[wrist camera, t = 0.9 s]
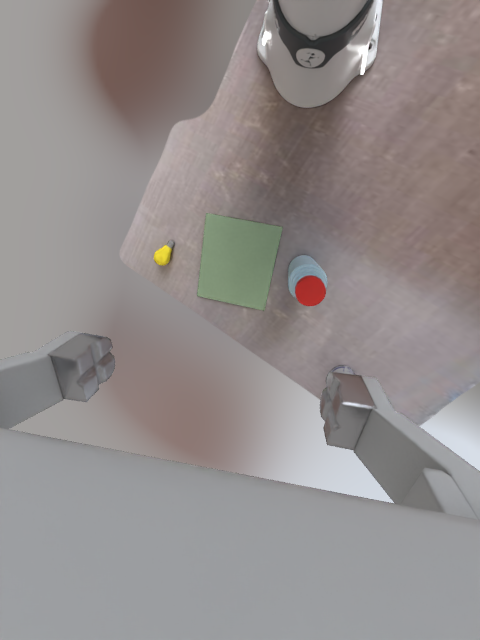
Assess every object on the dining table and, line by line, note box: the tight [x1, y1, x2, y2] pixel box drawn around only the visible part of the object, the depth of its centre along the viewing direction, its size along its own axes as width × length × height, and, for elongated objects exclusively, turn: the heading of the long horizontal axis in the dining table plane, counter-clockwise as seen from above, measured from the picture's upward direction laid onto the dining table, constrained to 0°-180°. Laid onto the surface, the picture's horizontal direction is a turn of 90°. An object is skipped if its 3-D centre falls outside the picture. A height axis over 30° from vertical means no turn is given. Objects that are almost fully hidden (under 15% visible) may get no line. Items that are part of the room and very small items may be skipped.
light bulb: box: [154, 241, 174, 266], centre depth 55 cm, size 3×6×4 cm, turn 146°
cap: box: [295, 275, 326, 306], centre depth 35 cm, size 4×4×2 cm
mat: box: [197, 213, 283, 311], centre depth 54 cm, size 18×16×1 cm
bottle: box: [288, 255, 327, 299], centre depth 43 cm, size 6×6×19 cm
